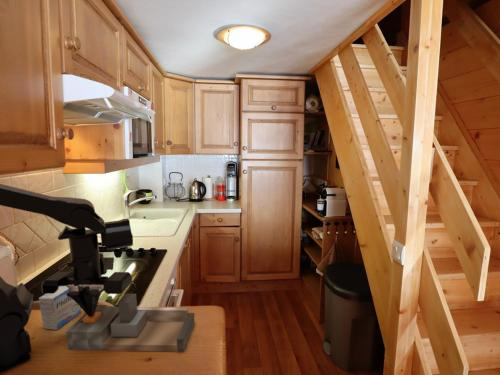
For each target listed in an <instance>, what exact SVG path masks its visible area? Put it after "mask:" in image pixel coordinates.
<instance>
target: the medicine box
mask: <svg viewBox="0 0 500 375" xmlns="http://www.w3.org/2000/svg"><path fill="white" fill-rule="evenodd" d="M67 293H69V289H68V287H67V286H58V290H57V291H56V292H55V293H54V294H51V293H44V294H43V295H41V296H40V297H38V301H39V310H40V316H41V324H42V329H46V330H54V331H58V330H61V328H63V327H64V326H65V325H66V324H68V323H69V322H70V321H72V320H73V319H74V318H76V317H77V316H78V315H80V314H81V313H82V308H81V307H80V306H79V305H78V304H77V303H76V302H75V301H74V300H73V299H72V298H71V297H67Z"/></svg>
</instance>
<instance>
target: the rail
mask: <svg viewBox="0 0 500 375" xmlns="http://www.w3.org/2000/svg"><path fill="white" fill-rule="evenodd" d="M137 311H146V316H147V323H146V324H145V326H144V327H143V329H142V330H141V332H140V333H139V335H138V337H112V334H111V324H112V323H113V321H114V320H115V319H116V318H117V317H118V315H119V306H100V305H99V306H98V305H97V307H96V311H95V312H101V314H102V316H101V317H100V319H99V320H98V321H97V322H96V323H83V320H82V319H83V318H84V317H85V316H86V315H87V314H86V313H85V312H84V314H83V315H82V316H81V317H80V318H79V319H78V320H77V321H76V322H74V323H73V324H72V326H71V327H69V329H67V330H66V331H65V334H66V335H65V336H66V341H67V350H68V351H119V352H120V351H121V352H124V351H125V352H126V351H128V352H129V351H130V352H131V351H132V352H177V353H178V352H179V353H180V352H185V350H186V347H187V345H188V342H189V339H190V338H191V334H192V332H193V329H194V326H195V324H196V322H195V321H196V320H195V312H189V309H188V307H163V306H162V307H161V306H159V307H156V306H155V307H151V306H150V307H148V306H146V307H145V306H140V307H138V306H137Z"/></svg>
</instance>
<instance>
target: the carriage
mask: <svg viewBox="0 0 500 375" xmlns="http://www.w3.org/2000/svg"><path fill="white" fill-rule="evenodd" d="M117 305H118V306H117V307H119V315H118V317H117V318H116V319H115V320H114V321H113V323H112V324H111V334H112V337H138V335H139V333H140V332H141V330H142V329H143V327H144V326H145V324H146V323H147V316H146V311H137V307H138V303H137V293H125V295H124V296H123V297H122V298H121V299H120V300H119V301H118V302H117Z"/></svg>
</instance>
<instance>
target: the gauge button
mask: <svg viewBox="0 0 500 375" xmlns="http://www.w3.org/2000/svg"><path fill="white" fill-rule="evenodd" d="M101 316H102V314H101V312H95V314H94V315H93V316H92V317H91V316H90V317H89V316H88V315H86V316H85V317H84V318H83V319H82V320H83V323H96V322H97V321H98V320H99V319H100V317H101Z"/></svg>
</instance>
